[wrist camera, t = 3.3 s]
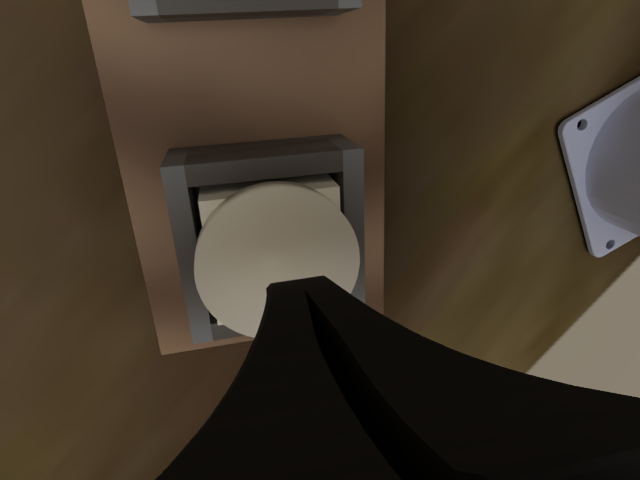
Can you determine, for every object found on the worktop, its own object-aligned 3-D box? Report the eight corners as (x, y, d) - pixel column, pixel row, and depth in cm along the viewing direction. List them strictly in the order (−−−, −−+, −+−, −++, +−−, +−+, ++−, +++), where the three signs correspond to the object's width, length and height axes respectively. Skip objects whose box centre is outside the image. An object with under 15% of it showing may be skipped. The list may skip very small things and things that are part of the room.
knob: (188, 164, 17) (180, 198, 13) (326, 151, 17) (358, 179, 14) (208, 289, 19) (207, 351, 15) (331, 271, 20) (360, 325, 16)
